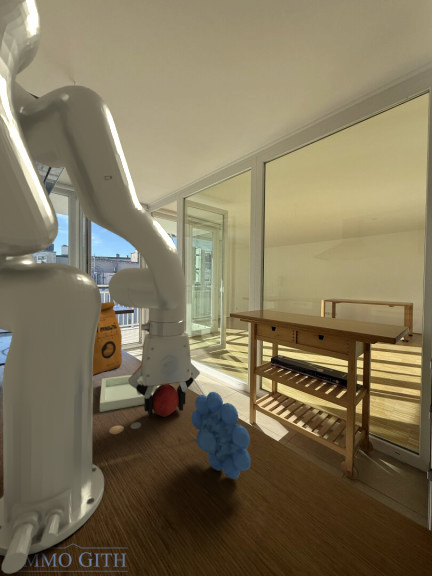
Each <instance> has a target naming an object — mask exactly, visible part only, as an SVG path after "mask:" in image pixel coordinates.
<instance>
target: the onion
mask: <svg viewBox="0 0 432 576" xmlns="http://www.w3.org/2000/svg"><path fill="white" fill-rule="evenodd" d="M152 397H153V412H155V414H157V415H159V416H160V417H163V418H164V417H166V418H167V417H168V416H169V415H171V414H173V413H174V411H176V409H178V403H179V395H178V393H177V389H176V388H175V387H174V386H172V384H166V385H160V386H159V387H158V388H157V389H156V390H155V392H154V393H153V395H152Z"/></svg>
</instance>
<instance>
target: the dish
mask: <svg viewBox="0 0 432 576" xmlns="http://www.w3.org/2000/svg"><path fill="white" fill-rule="evenodd" d="M131 376H132V374H130V375H129V374H128V375H119V376H113V377H105V378H101V386H100V398H99V413H101V412H108V411H113V410H120V409H126V408H130V407H135V406H141V405H142V406H143V405H144V396H143V395H142V394H141V395H139V394H138V393H137V390H136V389H135V388H134V387H132V386H131V385H130V384H129V383H128V379H129V378H130V377H131ZM137 381H138V382H140V381H142V376H141V377H140V378H139V379H138V380H137ZM159 386H160V385H159ZM159 386H154V388H153V390H152V393H151V394H152V395H153V393H154V392H155V390H156V389H157V388H158V387H159Z"/></svg>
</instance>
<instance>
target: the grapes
mask: <svg viewBox="0 0 432 576" xmlns="http://www.w3.org/2000/svg"><path fill="white" fill-rule="evenodd" d="M194 405H195V406H194V407H195V410H194V411H193V412H192V415H191V424H192V426H193V427H195V428H196V429H197V430H198V432H197V435H196V445H197V447H198V448H199V449H200V450H201V451H203V452H205V453H207V454H208V455H207V457H208V458H207V459H208V463H209V466H210V467H211V468H212V469H213V470H215V471H223V474H225V475H226V476H227V477H228V478H229V479H231V480H236V479H238V478H239V476H241V471H242V472H245V471H248V470H249V469H250V467H251V462H252V461H251V460H252V458H251V455H250V453H249V451H248V450H247V448H248V447H249V446H250V441H251V438H250V435H249V432H248V429H247V428H246V427H244V426H243V425H241V424H239V423H238V422H239V413H238V410H237V408H236V406H234V405H233V404H232V403H229V402H225V403H224V400H223V398H222V396H221V395H220V394H219V393H217V392H216V391H209V393H208V394H207V395H204V394H200V395H198V396H197V397H196V398H195V404H194Z"/></svg>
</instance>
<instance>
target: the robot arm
mask: <svg viewBox="0 0 432 576" xmlns="http://www.w3.org/2000/svg"><path fill="white" fill-rule="evenodd" d="M39 12H40V11H39V8H38V3H37V0H0V330H2V331H7V332H11V339H10V344H9V347H8V351H7V354H6V356H5V357H6V358H5V360H4V361H5V362H4V366H3V367H4V368H3V374H2V400H3V401H2V405H3V407H2V418H3V419H2V420H3V422H2V427H3V431H2V433H3V434H2V435H3V436H2V437H3V438H2V439H3V441H2V442H3V454H2V455H3V495H2V497H0V556H4V557H3V560H2V563H1V571H2V572H3V573H4V574H8V575H10V574H13V573H17V572H18V571H19V570H21V569H22V568H23V567H24V565H26V563H27V559H28V557H29V556H28V555H31V554H36V553H39V552H41V551H43V550H46V549H49V548H51V547H53V546H54V545H57V544H59V543H60V542H62V541H64V540H65V539H67V538H68V537H70V536H71V535H72V534H74V533H75V532H77V530H78V529H80V528H81V527H82V526H83V525H84V524H85V523H86V522H87V521H88V520H89V519H90V517H91V516H93V515H94V513H95V511H96V509H97V508H98V506H99V505H100V503H101V501H102V499H103V495H104V492H105V491H104V490H105V477H104V474H103V472H102V469H100V467H99V466H98V465H96V464H94V462H93V423H94V422H93V421H94V420H93V417H94V415H93V414H94V413H93V412H94V411H93V408H94V407H93V406H94V405H93V404H94V396H93V393H94V386H93V385H94V381H93V380H94V376H93V353H94V343H95V336H96V331H97V327H98V322H99V318H100V313H101V303H102V295H101V291H100V288H99V286H98V284H97V282H96V281H95V280H94V279H93V277H92V276H91V275H89V274H88V273H87V272H86V271H84V270H82V269H81V268H78V267H77V266H73V265H70V264H67V263H58V262H57V263H56V262H36V261H35V259H34V257H33V255H34V254H37V253H40V252H42V251H44V250H46V249H47V248H49V247H51V245H52V244H53V243H54V242H55V240H56V239H57V237H58V235H59V221H58V216H57V212H56V210H55V207H54V205H53V202H52V200H51V197H50V195H49V193H48V190H47V189H46V185H45V184H44V181H43V178H42V176H41V174H40V171H39V169H38V167H37V164H36V162H37V163H39V164H41V165H43V166H45V167H49V168H51V169H52V168H54V169H61V168H64V169H65V171H66V173H67V175H68V178H69V180H70V183H71V185H72V187H73V190H74V192H75V195H76V197H77V199H78V202H79V204H80V206H81V209H82V213H83V214H84V216H85V217H86V218H87V219H88V220H89V221H90V222H92V223H94V224H95V225H97V226H99V227H101V228H102V229H104V230H107V231H108V232H110V233H113V234H115V235H117V236H118V237H120V238H121V239H123V240H124V241H126V242H128V243H129V244H130V245H131V246H132V247H133V248H134V249H135V250H136V251H137V252H138V254H139V255H140V256H141V257H142V258H143V260H144V262H145V264H146V265H147V267H128V268H127V267H126V268H123V269H120V270H118V271H116V272H115V273H113V275H112V276H111V277H110V278H109V279H110V280H109V281H108V284H107V285H108V287H107V290H108V293H109V295H110V297H111V299H112V300H113V302H115V303H117V304H118V305H120V306H123V307H127V308H132V309H148V319H147V322H145V323H141V325H140V326H141V327H140V329H141V331H145V332H147V333H146V334H145V336H144V340H143V344H142V354H141V364H140V366H139V367H138V368H136V370H135V371H134V372H133V373H132V374H131V375H132V376H131V377H130V378H129V379H128V383H129V384H130V385H131V386H132V387H134V388H135V389H136V390H137V391H138V392H140V393H141V394H142V395H143V396H144V404H143V406H144V407H143V408H144V409H143V410H144V412H147V415H148V417H149V418H152V417H153V412H154V410H153V397H152V394H151V393H152V390H153V388H154V386H159V385H166V384H169V385H173V384H177V383H178V386H177V388H176V391H177V393H178V395H179V403H178V406H177V409H178V410H179V411H180V412H181V411H184V405H185V404H186V396H187V395H186V394H187V392H188V389H189V387H190V386H191V385H192V384H193V383H194V381H195V380H196V379H197V378H198V377H199V375H200V373H201V372H200V370H199V369H198V368H197V367H196V366H195V365H193V363H192V360H191V359H192V358H191V345H190V339H189V334H188V333H186V332H185V315H186V314H185V308H186V305H185V304H186V303H185V302H186V277H185V273H184V269H183V266H182V262H181V258H180V254H179V252H178V249H177V246H176V245H175V243H174V241H173V239H172V237H170V235H169V233H167V231H166V230H165V229H164V227H163V226H162V225H161V224H160V223H159V222H158V221H157V220H156V219H155V218H154V217H153V216H152V215H151V214H150V213H149V212H148V211H147V210H146V209H144V207H143V206H142V205H141V203H140V200H139V198H138V195H137V191H136V188H135V184H134V181H133V179H132V175H131V172H130V169H129V165H128V163H127V159H126V156H125V154H124V149H123V146H122V144H121V143H122V142H121V140H120V137H119V133H118V131H117V128H116V127H117V126H116V124H115V122H114V118H113V114H112V113H111V111H110V108H109V106H108V105H107V103H106V101H105V100H104V98H103V97H102V96H100V94H99V93H98V92H96V91H95V90H93V89H91V88H89V87H86V86H82V85H77V84H76V85H75V84H74V85H73V84H71V85H65V86H62V87H58V88H55V89H53V90H51V91H49V92H47V93H46V94H44V95H41V96H40V97H38V98H36V97H35V96H33V94H31V93H29V92H28V91H27V90H26V88H24V87H23V86H22V85H20V83H18V81H16V79H17V75H19V74H21V73H22V72H23V71H24V70H25V69H27V68H28V67H29V66H30V65H31V64H32V62H33V61H34V59H35V57H36V56H37V53H38V51H39V48H40V44H41V36H42V32H41V31H42V28H41V27H42V25H41V16H40V13H39ZM35 161H36V162H35ZM141 376H142V380H143V383H144V385H145V386H144V385H143V384H142V383H140V382H138V381H137V380H138V379H139V378H140V377H141Z"/></svg>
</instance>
